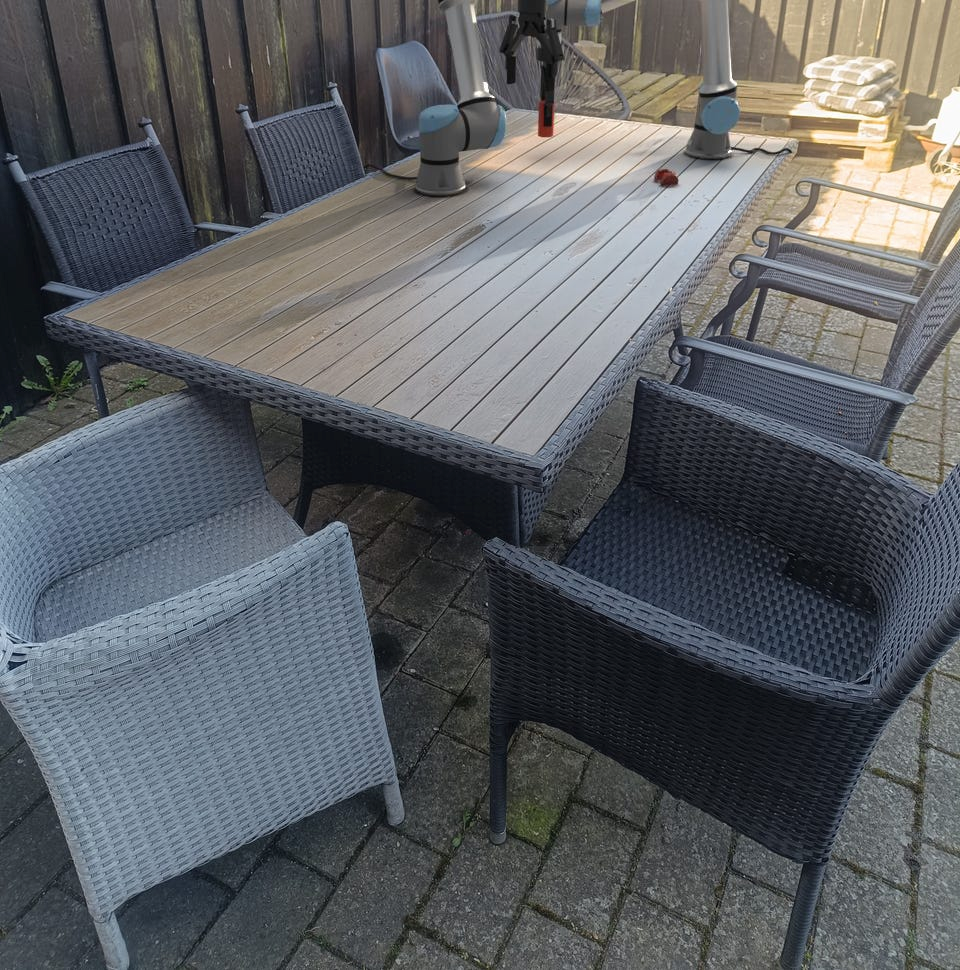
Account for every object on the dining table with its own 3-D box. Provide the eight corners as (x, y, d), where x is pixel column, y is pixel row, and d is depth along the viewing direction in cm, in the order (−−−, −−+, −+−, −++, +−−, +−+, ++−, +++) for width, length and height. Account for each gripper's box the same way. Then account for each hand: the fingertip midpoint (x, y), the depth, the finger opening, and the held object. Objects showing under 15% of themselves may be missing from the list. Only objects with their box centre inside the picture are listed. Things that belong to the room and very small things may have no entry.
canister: (556, 136, 282) (557, 102, 276) (542, 138, 280) (543, 104, 274) (548, 133, 286) (550, 99, 280) (535, 134, 284) (536, 100, 278)
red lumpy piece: (669, 164, 265) (680, 172, 259) (668, 178, 267) (679, 185, 261) (653, 166, 264) (664, 174, 258) (652, 180, 266) (662, 188, 260)
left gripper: (581, -3, 205) (576, 91, 217) (506, -11, 219) (505, 78, 232) (562, -1, 201) (557, 96, 213) (486, -8, 215) (486, 82, 227)
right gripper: (532, 42, 274) (530, 118, 288) (541, 51, 260) (539, 131, 273) (555, 42, 275) (552, 117, 289) (565, 51, 260) (562, 130, 274)
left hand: (530, 87), depth 222 cm, fingers open, 13 cm apart
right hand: (545, 124), depth 281 cm, fingers closed on canister, 5 cm apart
